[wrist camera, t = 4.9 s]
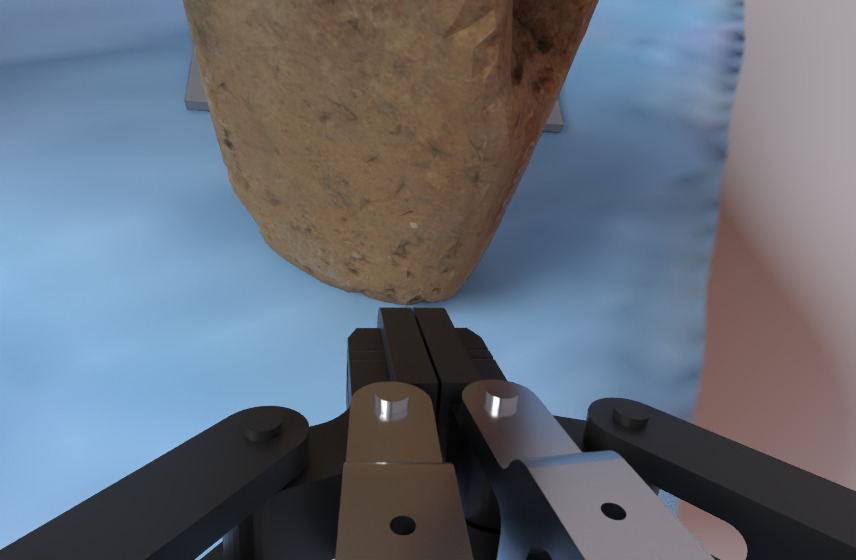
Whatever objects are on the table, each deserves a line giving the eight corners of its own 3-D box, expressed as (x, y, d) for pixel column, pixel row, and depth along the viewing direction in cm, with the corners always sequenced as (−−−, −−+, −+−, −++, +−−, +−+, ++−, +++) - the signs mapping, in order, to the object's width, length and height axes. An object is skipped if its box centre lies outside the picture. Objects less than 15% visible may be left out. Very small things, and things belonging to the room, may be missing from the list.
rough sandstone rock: (224, 230, 25) (-12, -523, 8) (320, 130, 29) (311, -548, 11) (425, 355, 24) (693, -184, 7) (500, 236, 28) (809, -330, 10)
